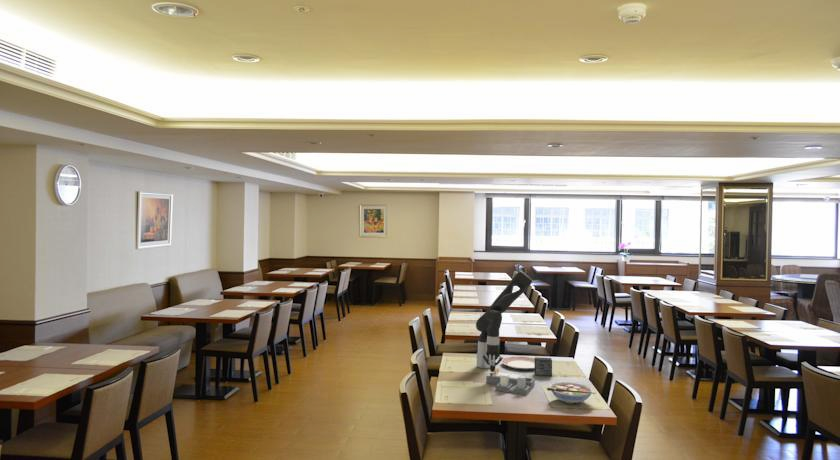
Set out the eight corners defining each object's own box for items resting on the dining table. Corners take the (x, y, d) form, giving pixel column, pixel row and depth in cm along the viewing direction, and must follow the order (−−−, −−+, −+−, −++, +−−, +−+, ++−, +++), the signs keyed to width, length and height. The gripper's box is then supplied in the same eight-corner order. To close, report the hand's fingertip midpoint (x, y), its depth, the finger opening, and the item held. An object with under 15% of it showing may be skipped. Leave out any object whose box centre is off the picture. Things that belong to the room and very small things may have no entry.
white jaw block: (500, 387, 312) (500, 375, 311) (502, 385, 315) (502, 373, 315) (506, 388, 310) (507, 376, 310) (508, 386, 314) (509, 374, 313)
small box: (550, 373, 347) (551, 357, 347) (552, 376, 340) (552, 360, 340) (534, 372, 348) (534, 356, 348) (535, 375, 341) (535, 359, 341)
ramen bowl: (592, 397, 301) (593, 382, 301) (596, 411, 279) (596, 395, 279) (546, 393, 307) (547, 378, 307) (546, 406, 285) (547, 391, 285)
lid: (492, 376, 323) (492, 370, 323) (496, 372, 331) (496, 367, 331) (519, 380, 317) (519, 374, 316) (522, 376, 324) (522, 370, 324)
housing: (480, 388, 314) (480, 373, 314) (490, 379, 333) (490, 365, 332) (526, 394, 303) (527, 379, 303) (534, 385, 321) (534, 371, 321)
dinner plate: (543, 373, 348) (543, 368, 348) (500, 370, 353) (500, 365, 353) (542, 362, 374) (542, 357, 374) (502, 359, 380) (502, 355, 380)
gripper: (505, 343, 328) (504, 371, 328) (484, 340, 333) (484, 368, 333) (501, 345, 321) (501, 374, 321) (480, 343, 326) (480, 371, 327)
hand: (492, 371), depth 327 cm, fingers closed
